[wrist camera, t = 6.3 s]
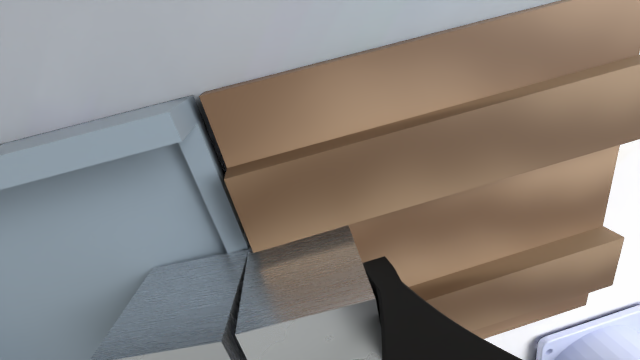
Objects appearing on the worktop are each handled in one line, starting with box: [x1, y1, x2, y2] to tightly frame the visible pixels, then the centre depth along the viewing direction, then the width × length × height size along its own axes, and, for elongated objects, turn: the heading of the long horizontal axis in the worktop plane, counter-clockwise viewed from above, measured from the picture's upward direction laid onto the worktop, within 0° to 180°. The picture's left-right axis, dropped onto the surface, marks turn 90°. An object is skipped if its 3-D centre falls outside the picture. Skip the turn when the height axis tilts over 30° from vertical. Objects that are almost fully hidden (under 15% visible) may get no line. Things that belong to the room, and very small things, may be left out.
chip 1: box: [90, 249, 249, 360], centre depth 11 cm, size 4×4×4 cm
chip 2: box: [235, 225, 382, 360], centre depth 11 cm, size 4×4×4 cm
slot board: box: [199, 0, 640, 339], centre depth 13 cm, size 16×16×2 cm
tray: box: [0, 95, 251, 360], centre depth 12 cm, size 16×14×3 cm
